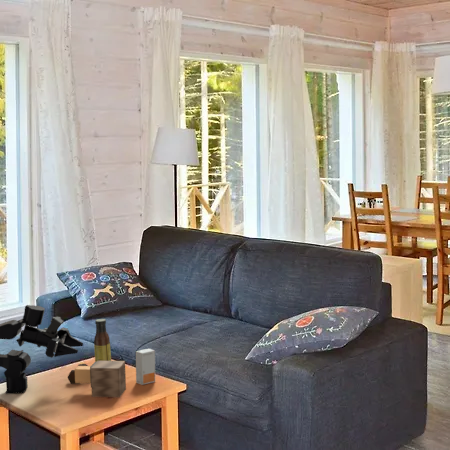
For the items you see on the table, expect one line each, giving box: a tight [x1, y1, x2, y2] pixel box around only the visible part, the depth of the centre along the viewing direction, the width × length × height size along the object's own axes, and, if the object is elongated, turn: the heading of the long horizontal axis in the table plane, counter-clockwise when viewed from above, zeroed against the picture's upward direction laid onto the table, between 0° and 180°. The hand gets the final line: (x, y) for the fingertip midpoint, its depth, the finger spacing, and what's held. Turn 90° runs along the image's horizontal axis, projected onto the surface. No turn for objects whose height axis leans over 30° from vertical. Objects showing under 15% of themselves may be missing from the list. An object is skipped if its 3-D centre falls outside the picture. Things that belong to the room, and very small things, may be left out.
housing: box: [90, 360, 127, 398], centre depth 259 cm, size 11×9×10 cm
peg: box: [74, 365, 92, 384], centre depth 260 cm, size 10×4×5 cm, turn 84°
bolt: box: [67, 363, 89, 385], centre depth 278 cm, size 6×5×15 cm
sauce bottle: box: [93, 318, 112, 362], centre depth 287 cm, size 7×6×20 cm
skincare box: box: [135, 348, 156, 386], centre depth 270 cm, size 6×4×12 cm
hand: (80, 348), depth 261 cm, fingers open, 9 cm apart
